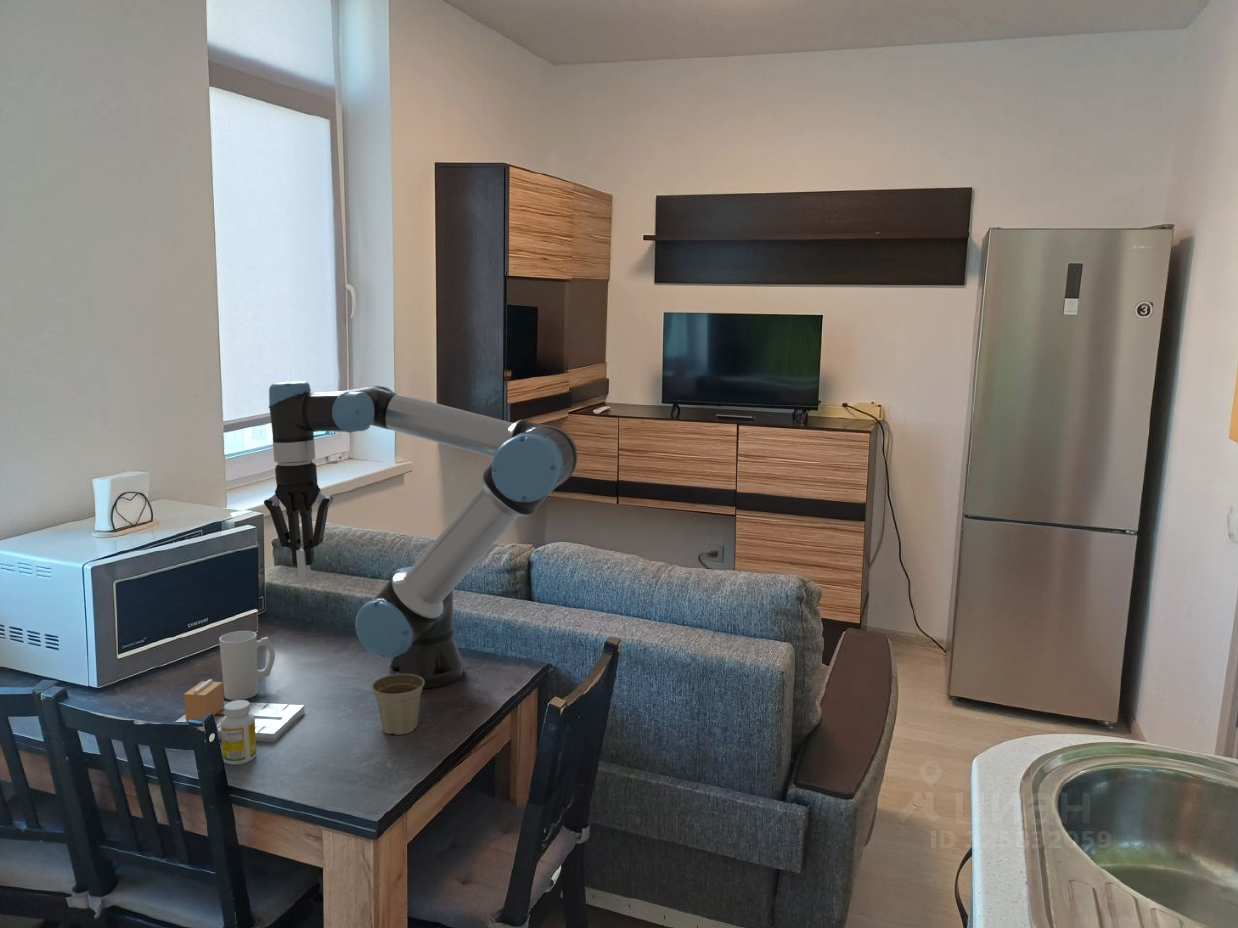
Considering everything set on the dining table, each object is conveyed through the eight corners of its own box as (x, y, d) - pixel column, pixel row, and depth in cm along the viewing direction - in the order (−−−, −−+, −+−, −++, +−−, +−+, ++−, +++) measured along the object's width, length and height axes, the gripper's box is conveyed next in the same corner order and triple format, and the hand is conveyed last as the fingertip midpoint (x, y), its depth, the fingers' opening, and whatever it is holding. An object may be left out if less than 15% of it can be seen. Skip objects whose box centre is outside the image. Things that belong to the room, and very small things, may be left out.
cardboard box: (224, 707, 171) (222, 679, 170) (206, 721, 165) (204, 691, 164) (203, 706, 172) (201, 678, 171) (185, 720, 166) (183, 690, 165)
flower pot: (399, 744, 161) (397, 698, 159) (361, 731, 166) (360, 686, 164) (436, 724, 168) (435, 680, 167) (399, 712, 173) (398, 669, 172)
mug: (225, 703, 177) (221, 644, 175) (220, 691, 183) (216, 634, 181) (280, 693, 182) (276, 635, 180) (273, 681, 188) (270, 625, 186)
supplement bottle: (232, 768, 152) (229, 714, 150) (217, 758, 155) (213, 705, 154) (263, 757, 156) (259, 703, 154) (247, 747, 159) (243, 695, 158)
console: (304, 713, 173) (304, 704, 173) (274, 742, 161) (273, 733, 161) (204, 707, 175) (204, 699, 175) (167, 736, 163) (166, 727, 163)
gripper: (335, 458, 179) (344, 575, 183) (269, 460, 179) (280, 576, 183) (321, 464, 172) (331, 585, 175) (253, 466, 172) (264, 587, 176)
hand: (305, 580), depth 179 cm, fingers closed
